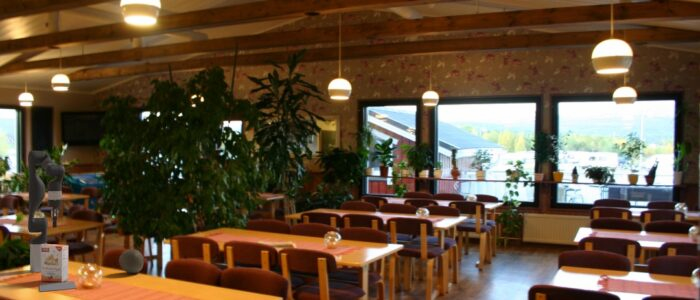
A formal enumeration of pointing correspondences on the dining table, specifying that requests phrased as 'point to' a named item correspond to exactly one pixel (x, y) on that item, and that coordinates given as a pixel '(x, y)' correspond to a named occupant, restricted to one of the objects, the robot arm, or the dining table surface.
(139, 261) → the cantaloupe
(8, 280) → the dining table surface
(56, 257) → the cracker box
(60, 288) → the mat
